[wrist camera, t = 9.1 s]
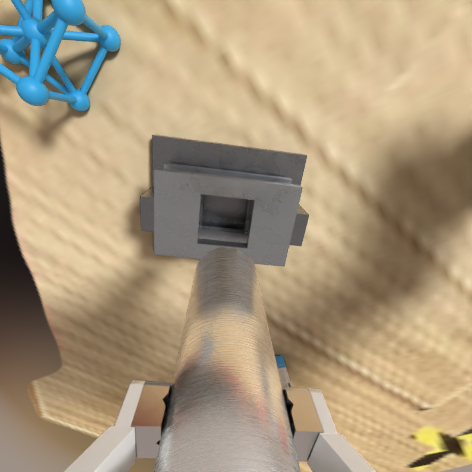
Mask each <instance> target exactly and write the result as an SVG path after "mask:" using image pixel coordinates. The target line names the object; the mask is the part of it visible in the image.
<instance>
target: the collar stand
mask: <svg viewBox="0 0 472 472" xmlns="http://www.w3.org/2000/svg"><path fill="white" fill-rule="evenodd" d="M306 158H307V155H304V154H297V153H289V152H282V151H274V150H267V149H259V148H251V147H244V146H236V145H229V144H221V143H214V142H206V141H198V140H191V139H183V138H176V137H168V136H160V135H152V163H153V186H152V187H151V188H150V189H149V190H147V191H146V192H145V193H144V194H142V195H141V196H140V214H141V230H143V231H153V250H154V255H164V256H175V257H186V258H197V259H201V258H202V257H203V256H204V255H205V254H206V253H208V252H209V251H211V250H214V249H217V248H221V247H230V248H235V249H238V250H241V251H243V252H244V253H246V254H247V255H248V256H249V257H250V258H251V259H252V261H253V263H254V264H263V265H274V266H285V261H286V257H287V253H288V248H289V245H295V246H301V245H302V241H303V238H304V234H305V230H306V226H307V222H308V218H309V214H308V213H307V212H306V211H305V210H304V209H303V208H302V207H301V206H300V205H299V201H300V196H301V192H302V187H301V186H300V185H301V180H302V176H303V172H304V167H305V163H306Z"/></svg>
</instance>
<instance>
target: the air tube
mask: <svg viewBox="0 0 472 472" xmlns="http://www.w3.org/2000/svg"><path fill="white" fill-rule="evenodd" d="M154 472H300V467H299V463H298V458H297V454H296V449H295V445H294V440H293V436H292V431H291V427H290V422H289V418H288V413H287V409H286V404H285V400H284V395H283V390H282V386H281V381H280V377H279V372H278V368H277V363H276V359H275V354H274V350H273V345H272V341H271V336H270V332H269V327H268V323H267V318H266V314H265V309H264V305H263V300H262V296H261V291H260V286H259V282H258V277H257V273H256V268H255V265H254V263H253V261H252V259H251V258H250V257H249V256H248V255H247V254H246V253H244V252H243V251H241V250H238V249H235V248H230V247H221V248H217V249H214V250H211V251H209V252H208V253H206V254H205V255H204V256H203V257H202V258H201V259H200V260H199V262H198V264H197V267H196V271H195V276H194V280H193V285H192V290H191V295H190V300H189V304H188V309H187V314H186V319H185V324H184V328H183V333H182V338H181V343H180V348H179V352H178V357H177V362H176V367H175V372H174V376H173V381H172V386H171V391H170V396H169V401H168V405H167V410H166V415H165V420H164V425H163V430H162V435H161V439H160V444H159V448H158V453H157V458H156V463H155V468H154Z"/></svg>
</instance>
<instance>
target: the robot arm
mask: <svg viewBox="0 0 472 472" xmlns="http://www.w3.org/2000/svg"><path fill="white" fill-rule="evenodd" d="M282 390H283V395H284V400H285V404H286V409H287V413H288V418H289V422H290V427H291V431H292V436H293V440H294V445H295V449H296V454H297V458H298V461H303V462H307V464H308V465H309V467H310V468H311V470H312V471H313V472H376V471H375V470H374V469H373V468H372V466H371V465H370V464H369V463H368V462H367V461H366V460H365V459H364V458H363V457H362V456H361V455H360V453H359V452H358V451H357V450H356V449H355V448H354V447H353V446H352V445H351V444H350V443H349V442H348V440H347V439H346V438H345V437H344V436H343V435H342V434H341V433H337V431H336V428H335V426H334V423H333V420H332V418H331V415H330V412H329V410H328V407H327V404H326V402H325V399H324V396H323V394H322V392H321V390H320V389H307V388H285V387H284V388H283V389H282ZM170 391H171V382H155V381H141V380H132V382H131V383H130V385H129V388H128V390H127V393H126V396H125V398H124V401H123V404H122V406H121V409H120V412H119V414H118V417H117V420H116V422H115V425H114V426H109V427H108V428H107V429H106V430H105V431H104V432H103V433H102V434H101V435H100V436H99V437H98V438H97V439H96V440H95V441H94V443H93V444H91V445H90V446H89V447H88V448H87V449H86V450H85V451H84V452H83V453H82V454H81V455H80V456H79V457H78V458H77V459H76V460H75V461H74V462H73V463H72V464H71V465H70V466H69V467H68V468H67V469H66V470H65V471H64V472H128V471H129V469H130V468H131V467H132V465H133V464H134V462H135V461H136V458H157V453H158V448H159V444H160V439H161V435H162V430H163V425H164V420H165V415H166V410H167V405H168V401H169V396H170Z"/></svg>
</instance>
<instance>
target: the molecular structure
mask: <svg viewBox="0 0 472 472" xmlns="http://www.w3.org/2000/svg"><path fill="white" fill-rule="evenodd" d="M11 1H12V3H13V4H14V6H15V7H16V9H17V10H18V12H19V13H20V15H21V16H20V19H19V21H18V24H17V26H7V25H0V35H7V36H13V37H12V39H8V38H6V39H2V40H0V54H1V56H2V57H3V58H4V59H5V60H6V61H8V62H10V63H12V64H22V63H23V64H24V65H26V66H27V67H28V68H29V77H28V76H25V77H22V78H20V77H19V76H18V75H16V74H15V73H13V72H12V71H11V70H9V69H8V68H6V67H5V66H4V65H2V64H1V63H0V73H1V74H2V75H3V76H5V77H6V78H8V79H9V80H11V81H12V82H13V83H15V84H16V89H17V92H18V94H19V96H20V97H21V98H22V99H23V100H24V101H25V102H27V103H29V104H30V105H34V106H42V105H44V104H46V103H47V102H48V100H49V99H53V100H59V101H65V102H68V103H69V105H70V106H71V107H72V108H73V109H75V110H77V111H86V110H87V109H88V108H89V106H90V100H89V97H88V96H87V95H86V94H87V92H88V90H89V88H90V86H91V84H92V82H93V80H94V78H95V76H96V74H97V72H98V70H99V68H100V66H101V64H102V62H103V60H104V58H105V56H106V54H107V51H110V52H115V51H117V50H118V49H119V47H120V44H121V40H120V36H119V34H118V33H117V31H116V30H115V29H114V28H113V27H111V26H108V25H103V26H101V27H100V26H99V25H97V24H96V23H95V22H94V21H93V20H91V19H90V18H89V17H88V16H87V15H86V12H85V7H84V4H83V2H82V1H81V0H52V5H53V9H54V11H53V12H52V13H51V14H50V15H49V16H47V17H46V18H45V19H44V20H43V21H42V12H43V0H26V3H25V5H24V4H23V3H22V1H21V0H11ZM32 13H33V17H31V16H32ZM82 23H83V24H84V25H86V26H87V27H88V28H90V29H91V30H92V31H94V32H95V33H85V32H74V31H66V29H67V27H68V25H72V26H78V25H81V24H82ZM53 27H54V29H53V30H51V29H52V28H53ZM61 40H76V41H90V42H99V43H100V45H101V47H100V49H99V51H98V53H97V55H96V57H95V59H94V61H93V63H92V65H91V67H90V69H89V72H88V74H87V76H86V78H85V80H84V82H83V84H82V86H81V88H80V90H78V89H75V88H74V86H73V84H72V83H71V81H70V79H69V78H68V76H67V74H66V73H65V71H64V70H63V68H62V66H61V65H60V63H59V61H58V60H57V58H56V57H55V54H56V52H57V50H58V47H59V45H60V43H61ZM30 44H31V49H30V60H28V59H27V58H26V53H25V50H24V49H25V48H26V47H28V46H29V45H30ZM41 48H42V50H43V51H44V52H43V55H42V57H41V60H40V51H41ZM51 64H52V65H53V67H54V68H55V70H56V71H57V73H58V75H59V76H60V78H61V79H62V81H63V82H64V84H65V86H66V87H67V88H66V87H65V86H64V85H62V84H61V83H59V82H58V81H57V80H55V79H54V78H53V77H51V76H50V75H49V74H47V73H48V70H49V68H50V66H51ZM44 80H46V81H47V82H49V83H50V84H52V85H53V86H54V87H56V88H57V89H58V90H60V91H61V92H63V93H64V94H62V93H57V92H53V91H48V89H47V88H46V86H45V85H44V84H43V82H44Z"/></svg>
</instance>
